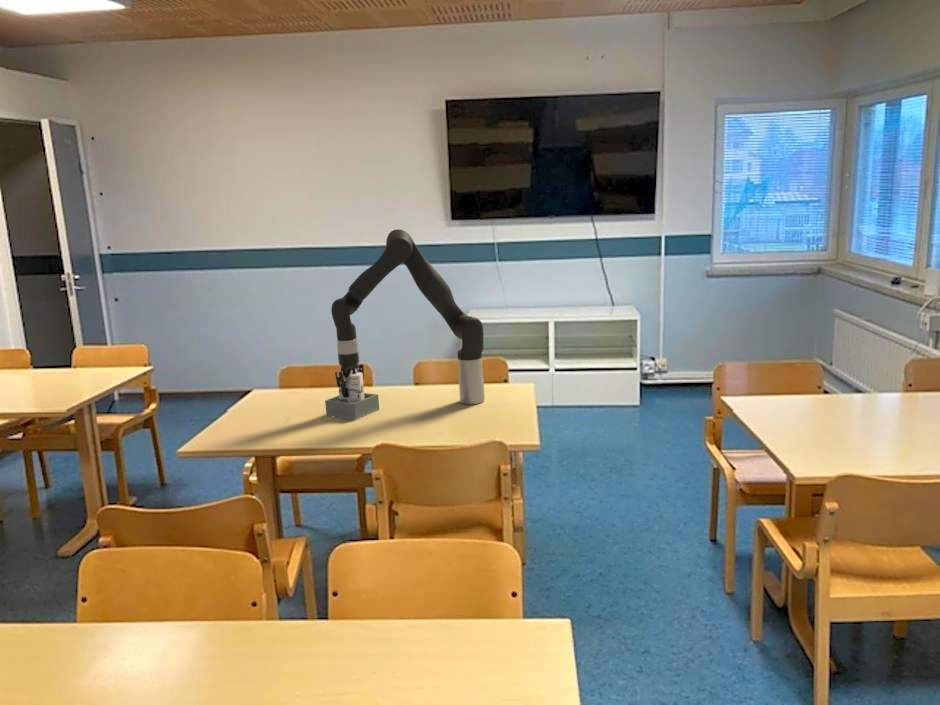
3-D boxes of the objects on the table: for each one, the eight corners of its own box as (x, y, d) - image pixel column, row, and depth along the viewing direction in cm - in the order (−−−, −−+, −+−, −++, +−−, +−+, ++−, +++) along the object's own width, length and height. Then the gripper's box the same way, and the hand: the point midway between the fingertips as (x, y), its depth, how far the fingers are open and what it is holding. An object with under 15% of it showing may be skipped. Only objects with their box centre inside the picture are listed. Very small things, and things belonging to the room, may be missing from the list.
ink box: (339, 406, 273) (336, 375, 270) (343, 402, 278) (340, 372, 275) (362, 406, 272) (359, 375, 269) (365, 402, 276) (362, 372, 274)
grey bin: (350, 406, 285) (349, 391, 283) (379, 409, 278) (378, 394, 276) (326, 416, 273) (325, 400, 272) (356, 420, 266) (354, 404, 265)
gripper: (343, 356, 262) (347, 400, 266) (368, 348, 274) (371, 391, 278) (327, 354, 266) (331, 399, 270) (352, 346, 278) (356, 389, 282)
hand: (351, 394), depth 274 cm, fingers closed on ink box, 6 cm apart
